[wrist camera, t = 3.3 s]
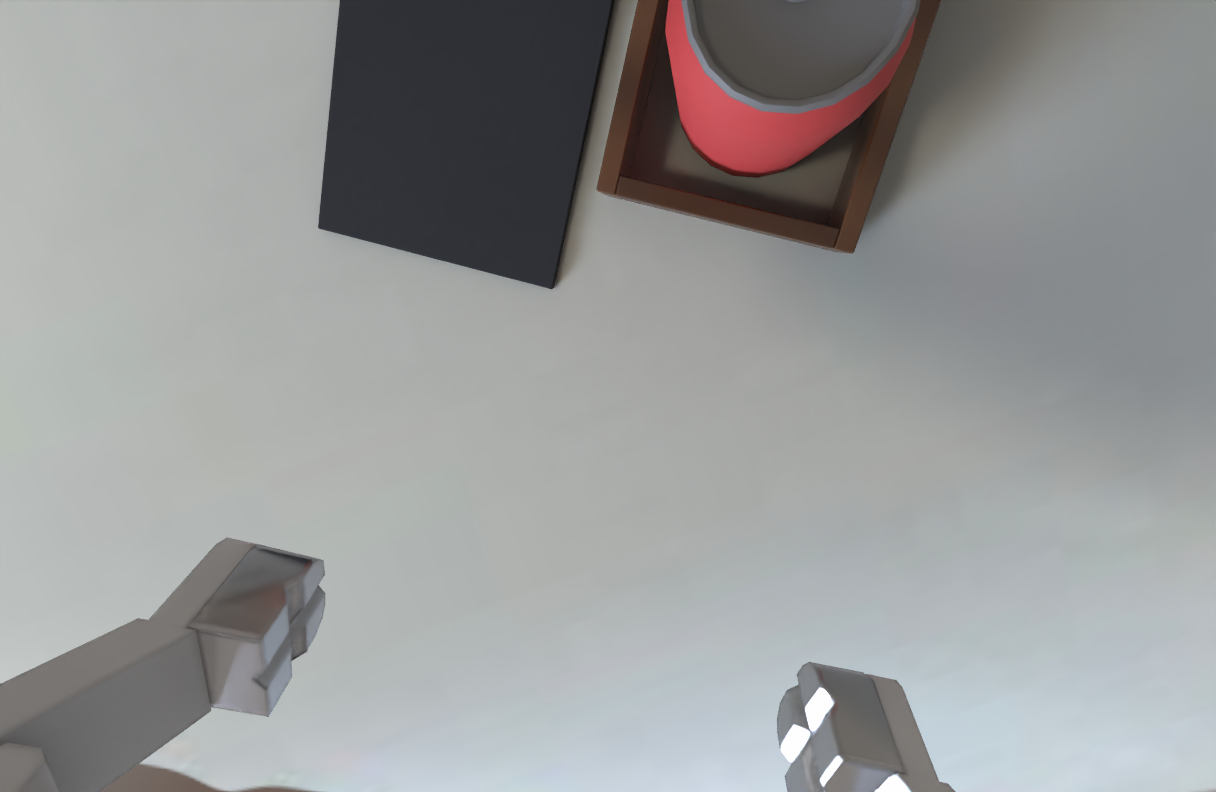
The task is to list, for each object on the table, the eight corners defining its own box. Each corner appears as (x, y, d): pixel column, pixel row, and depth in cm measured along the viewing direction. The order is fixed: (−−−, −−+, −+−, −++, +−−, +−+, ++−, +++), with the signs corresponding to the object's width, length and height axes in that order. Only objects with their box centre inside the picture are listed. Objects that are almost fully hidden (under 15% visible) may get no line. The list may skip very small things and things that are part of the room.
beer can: (839, -1, 24) (965, -214, 13) (834, 172, 26) (942, 121, 14) (675, 19, 25) (654, -162, 14) (680, 184, 27) (665, 146, 15)
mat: (553, 288, 29) (551, 289, 29) (322, 228, 30) (317, 228, 30) (660, -220, 23) (660, -227, 23) (371, -274, 24) (366, -282, 24)
